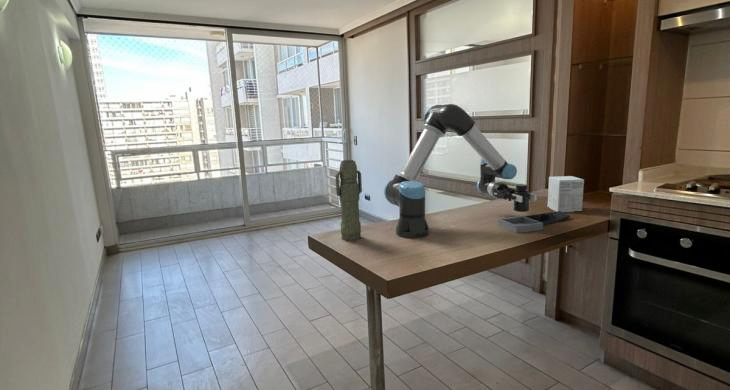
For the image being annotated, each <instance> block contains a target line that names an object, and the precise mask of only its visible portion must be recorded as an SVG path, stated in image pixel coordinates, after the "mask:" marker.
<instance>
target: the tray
mask: <svg viewBox="0 0 730 390" xmlns="http://www.w3.org/2000/svg"><path fill="white" fill-rule="evenodd" d="M524 216H525V215H523V216H515V217H504V218H497V219H498V220H497V226H498V227H501V228H503V229H506V230H508V231H511V232H513V233H516V234H519V233H527V232H535V231H542V230H543V229H544V225H543V223H541V222H538V221H536V220H533V219H530V218H527V217H524Z"/></svg>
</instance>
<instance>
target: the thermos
mask: <svg viewBox="0 0 730 390" xmlns="http://www.w3.org/2000/svg"><path fill="white" fill-rule="evenodd" d="M362 181H363V180H362V173H361V171H360V170H358V167H357V164H356V161H355V160H353V159H344V160H342V161H340V165H339V171H337V172H336V174H335V188H336V189H335V190H336V191H335V192H336V196H338V197H339V202H340V212H341V213H340V214H341V221H340V234H341V240H343V241H346V242H347V241H349V242H350V241H351V242H352V241H357V240H361V234H362V233H361V232H362V230H361V229H362V223H361V221H360V205H359V201H360V194H361V193H362V192H363V188H362Z"/></svg>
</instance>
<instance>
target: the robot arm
mask: <svg viewBox="0 0 730 390" xmlns="http://www.w3.org/2000/svg"><path fill="white" fill-rule="evenodd" d="M423 120H424V122H423V123H422V128H423V130H422V132H421V134H420V135H419V138H418V139H417V141H416V143H415V145H414V147H413V148H412V150H411V152H410V154H409V156H408V157H407V160H406V161H405V163H404V165H403V167H402V169H401V170H400V172H398V173H395V175H394V177H393V179H391V180H389V181H388V182H387V183H386V184H385V186H384V189H383V195H384V198H385V199H386V200H387V201H388V203H390V204H391V205H394V206H397V207H398V208H399V218H398V221H397V224H396V228H395V234H396V236H398V237H401V238H406V239H407V238H408V239H419V238H424V237H426V236H429V234H430V227H429V225H428V221H427V219H426V188H425V185H424V184H423V183H421V182H420V181H417V180H418V178H419V176H420V174H421V172H422V171H423V169H424V166H425V165H426V163H427V161H428V160H429V158H430V155H431V154H432V152H433V150H434V148H435V147H436V144H437V143H438V141H439V139H441V138H444V137H445V134H446V133H447V131H448V130H450V131H453V133H455V134H457V136H458V137H462V139H464V140H465V141H466V142H467V144H468V145H469V146H471V148H472V149H473V150H474V151H475V152H476V153H477V154H478V156H479V157H480V158H481V159H480V165H479V167H480V168H479V169H480V179H479V180H478V181H477V183H476V189H477V191H478V192H480V193H481V194H483V195H488V196H491V197H493V198H497V199H500V200H501V199H502V200H507V201H509V202H512V201H514V200H515V201H518V202H522V196H520V195H516V194H514V191H516V190H517V189H516V188H515V189H514V188H511V187H509V186H508V185H507V184H505V183H502V182H498V181H496V178H497V179H503V180H513V179H515V177H516V176H517V172H518V170H517V167H516V165H514V164H512V163H508V162H507V160H506V159H505V158H504V157H503V156H502V155H501V154H500V152H499V151H498V150H497V149H496V148H495V147H494V145H493V144H491V142H490V140H489V139H488V138H486V136H485V135H484V134H483V133H482V131H481V130H479V129H480V128H478V127H477V126H476V121H475V120H474V119H473V117H472V116H471V115H470V114H469V113H467V112H466V111H465V110H464V109H463V108H462V107H460V106H459V105H457V104H453V103H447V104H436V105H433V106H430V107H429V108H428V109H427V110H426V111H425V112H424V115H423ZM528 191H529V190H528ZM529 194H530V195H529V201H530V200H531V201H534V202H535V201H537V195H538V194H536V193H532V192H531V191H529Z"/></svg>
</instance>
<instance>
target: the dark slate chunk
mask: <svg viewBox="0 0 730 390" xmlns="http://www.w3.org/2000/svg"><path fill="white" fill-rule="evenodd" d="M523 216H524V217H527V218H530V219H533V220H536V221H538V222H541V223H543V226H546V225H551V224H555V223H558V222H562V221H565V220H567V219H568V218H570V217H571V216H570V215H569V214H567V212H561V211H558V212H556V211H553V212H552V211H549V212H543V213H537V214H530V215H523Z"/></svg>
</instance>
